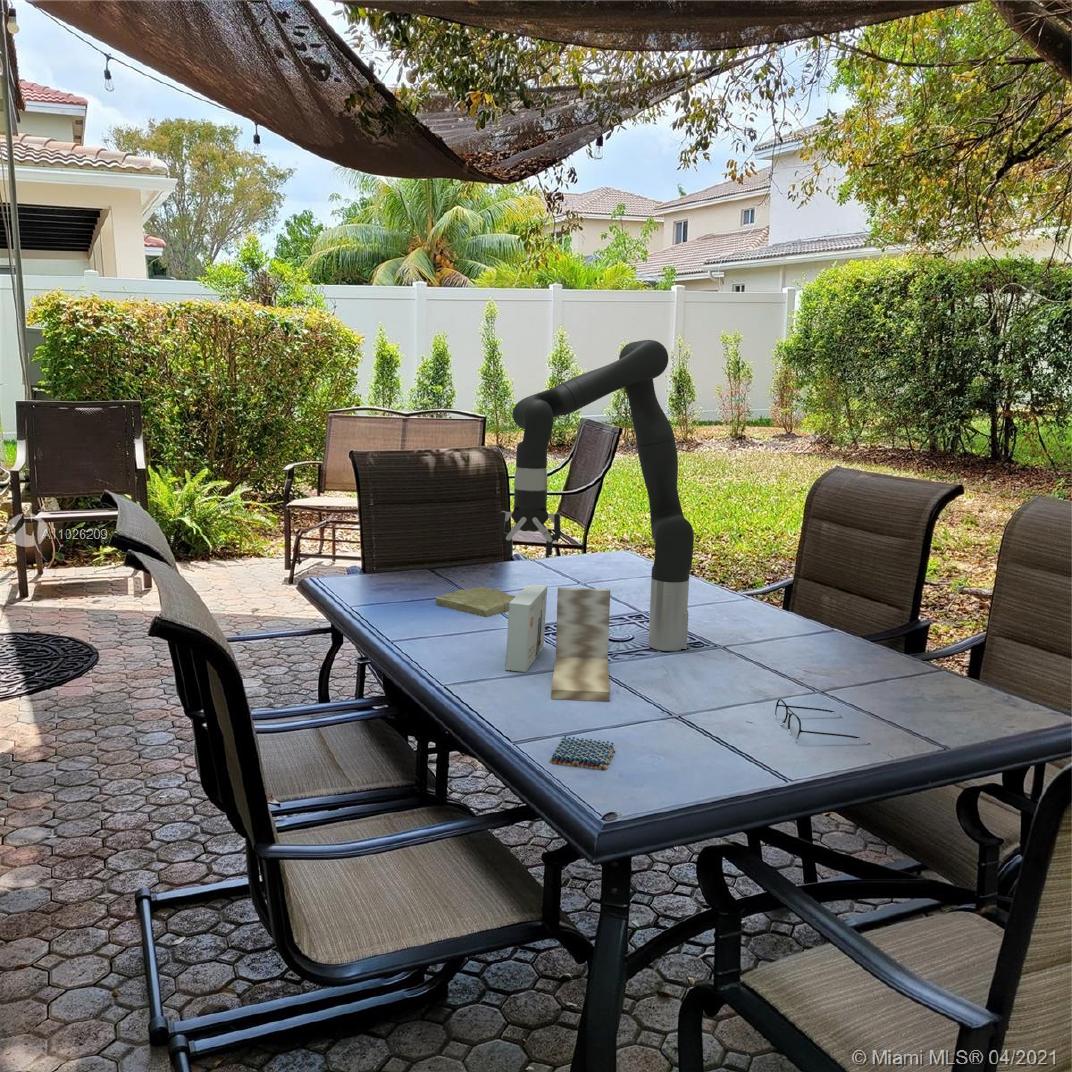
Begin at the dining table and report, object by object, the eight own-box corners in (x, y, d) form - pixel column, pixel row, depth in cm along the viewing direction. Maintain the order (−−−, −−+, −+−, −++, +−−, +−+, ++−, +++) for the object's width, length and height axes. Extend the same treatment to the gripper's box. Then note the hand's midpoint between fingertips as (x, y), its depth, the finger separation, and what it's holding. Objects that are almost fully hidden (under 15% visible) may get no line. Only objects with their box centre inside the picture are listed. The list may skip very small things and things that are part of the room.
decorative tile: (486, 619, 269) (486, 606, 269) (434, 606, 282) (434, 594, 281) (530, 607, 284) (530, 595, 283) (479, 595, 296) (479, 584, 296)
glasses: (772, 719, 198) (777, 695, 197) (843, 727, 199) (848, 704, 198) (796, 747, 184) (801, 721, 183) (872, 755, 185) (877, 730, 184)
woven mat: (617, 751, 180) (617, 740, 179) (606, 774, 170) (607, 762, 169) (561, 744, 182) (561, 733, 182) (547, 766, 172) (547, 755, 172)
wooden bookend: (607, 665, 229) (610, 589, 226) (609, 701, 205) (612, 616, 202) (555, 662, 230) (557, 587, 227) (551, 698, 205) (553, 614, 202)
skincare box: (528, 673, 222) (530, 604, 219) (504, 671, 223) (506, 602, 220) (546, 647, 242) (547, 584, 240) (524, 645, 243) (525, 582, 241)
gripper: (562, 486, 229) (560, 554, 232) (501, 484, 230) (499, 552, 233) (561, 490, 222) (559, 561, 225) (498, 488, 222) (496, 558, 225)
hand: (528, 556), depth 229 cm, fingers open, 8 cm apart
